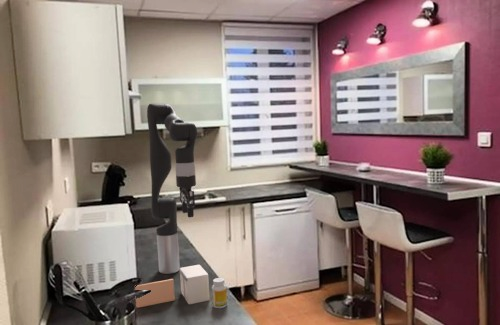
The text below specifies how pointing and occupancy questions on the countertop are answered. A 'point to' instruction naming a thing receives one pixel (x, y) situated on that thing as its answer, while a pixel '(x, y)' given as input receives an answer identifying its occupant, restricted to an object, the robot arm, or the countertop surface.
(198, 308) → the countertop surface
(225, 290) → the supplement bottle
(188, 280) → the white rectangular block
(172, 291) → the ticket
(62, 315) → the countertop surface
